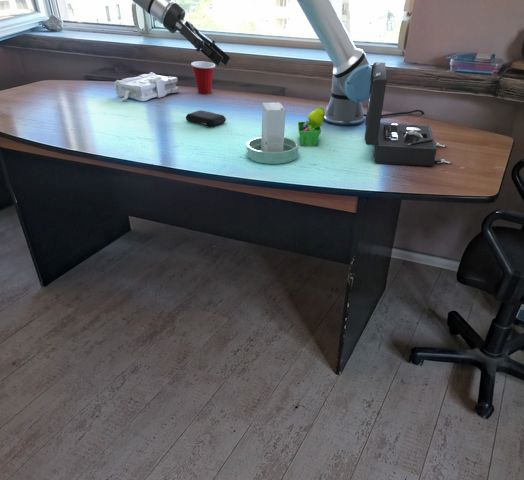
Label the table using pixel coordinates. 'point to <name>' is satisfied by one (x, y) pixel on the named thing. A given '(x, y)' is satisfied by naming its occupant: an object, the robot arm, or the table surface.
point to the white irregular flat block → (145, 86)
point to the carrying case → (205, 118)
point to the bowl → (272, 157)
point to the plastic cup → (203, 75)
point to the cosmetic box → (272, 127)
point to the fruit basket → (311, 127)
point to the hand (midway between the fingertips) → (224, 61)
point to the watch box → (396, 131)
